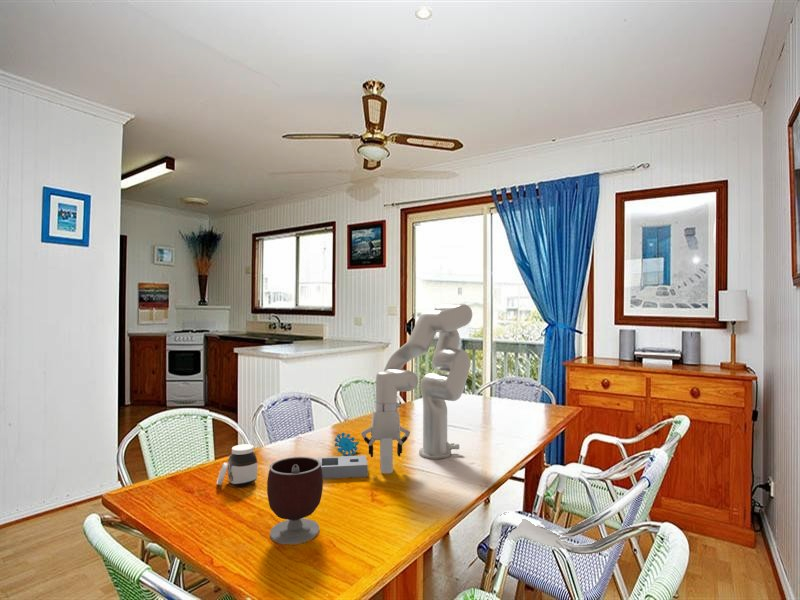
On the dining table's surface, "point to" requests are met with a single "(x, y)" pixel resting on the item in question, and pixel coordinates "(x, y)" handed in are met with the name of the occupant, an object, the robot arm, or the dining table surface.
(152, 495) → the dining table surface
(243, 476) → the spread jar
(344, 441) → the gear
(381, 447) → the skincare box
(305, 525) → the mate gourd
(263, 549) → the dining table surface
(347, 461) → the stand
